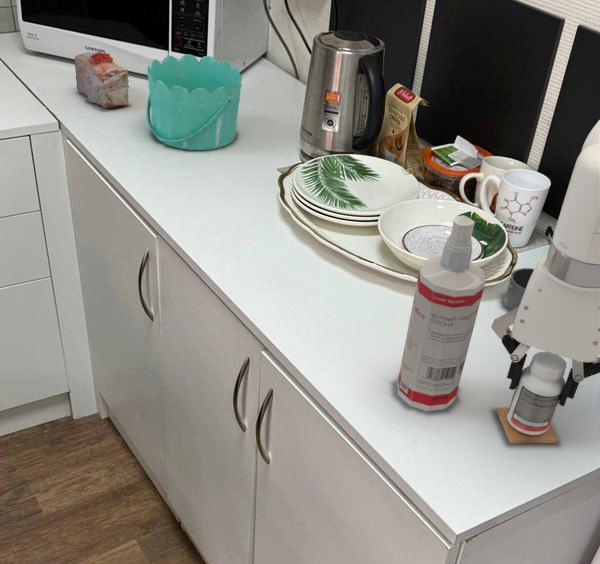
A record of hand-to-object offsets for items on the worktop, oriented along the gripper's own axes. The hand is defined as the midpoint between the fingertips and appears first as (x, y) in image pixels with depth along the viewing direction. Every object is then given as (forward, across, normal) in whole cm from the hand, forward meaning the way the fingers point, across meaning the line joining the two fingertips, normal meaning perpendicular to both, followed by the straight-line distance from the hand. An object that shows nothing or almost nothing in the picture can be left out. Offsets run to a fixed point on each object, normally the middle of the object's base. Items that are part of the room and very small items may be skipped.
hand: (538, 390), depth 98 cm
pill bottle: (+5, 0, 0) cm, 5 cm away
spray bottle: (+6, +14, 0) cm, 15 cm away
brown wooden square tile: (+6, 0, 0) cm, 6 cm away
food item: (+6, +108, -61) cm, 124 cm away
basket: (+6, +82, -57) cm, 100 cm away
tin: (+6, +6, -29) cm, 30 cm away
